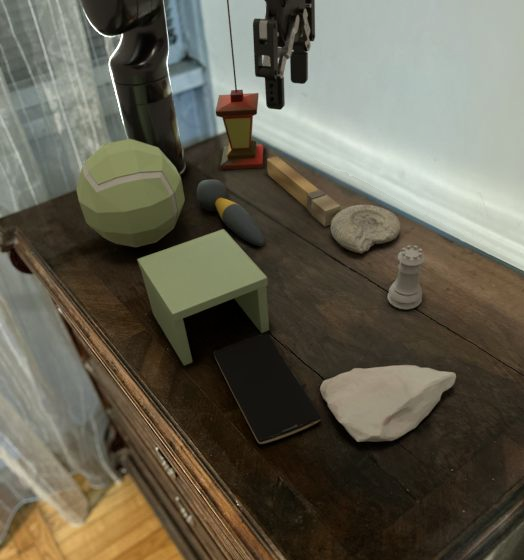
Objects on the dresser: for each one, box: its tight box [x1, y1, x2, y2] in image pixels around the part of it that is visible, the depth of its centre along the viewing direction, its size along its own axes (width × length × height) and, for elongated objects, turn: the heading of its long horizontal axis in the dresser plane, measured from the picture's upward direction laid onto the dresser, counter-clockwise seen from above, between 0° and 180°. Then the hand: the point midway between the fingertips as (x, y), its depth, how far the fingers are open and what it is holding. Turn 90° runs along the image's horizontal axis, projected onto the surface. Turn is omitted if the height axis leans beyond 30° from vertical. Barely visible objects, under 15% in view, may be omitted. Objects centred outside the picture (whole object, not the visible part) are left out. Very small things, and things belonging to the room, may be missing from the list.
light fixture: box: [215, 0, 265, 170], centre depth 93 cm, size 8×8×30 cm
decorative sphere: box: [75, 138, 186, 248], centre depth 82 cm, size 15×15×15 cm
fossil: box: [330, 204, 401, 255], centre depth 83 cm, size 11×4×10 cm
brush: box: [266, 155, 341, 227], centre depth 92 cm, size 20×3×3 cm, turn 28°
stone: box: [319, 364, 457, 443], centre depth 60 cm, size 11×4×15 cm
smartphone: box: [213, 332, 322, 445], centre depth 64 cm, size 7×1×15 cm
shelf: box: [136, 228, 270, 366], centre depth 70 cm, size 12×12×9 cm
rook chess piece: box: [387, 244, 425, 311], centre depth 71 cm, size 4×4×8 cm
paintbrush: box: [196, 178, 265, 247], centre depth 87 cm, size 20×5×5 cm, turn 38°
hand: (287, 94), depth 71 cm, fingers open, 8 cm apart
